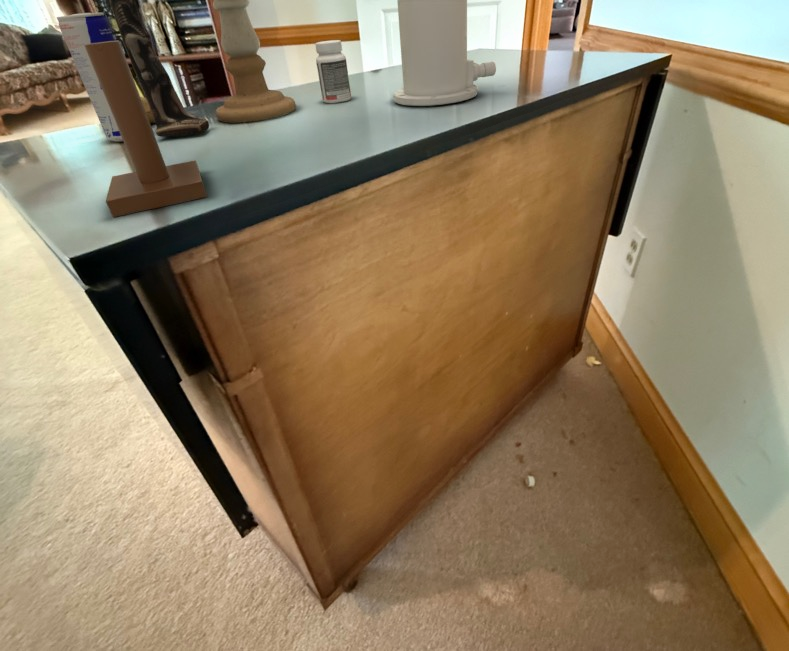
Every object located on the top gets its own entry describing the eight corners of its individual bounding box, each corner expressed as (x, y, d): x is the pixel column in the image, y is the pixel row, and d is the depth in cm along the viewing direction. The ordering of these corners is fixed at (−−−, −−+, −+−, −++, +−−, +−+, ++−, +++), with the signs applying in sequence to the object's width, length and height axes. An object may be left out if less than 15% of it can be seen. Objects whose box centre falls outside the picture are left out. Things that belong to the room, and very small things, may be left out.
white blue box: (133, 142, 64) (81, 12, 56) (99, 143, 66) (43, 17, 57) (157, 132, 69) (113, 10, 60) (125, 133, 70) (77, 14, 61)
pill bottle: (357, 98, 77) (349, 39, 72) (334, 104, 74) (325, 43, 69) (339, 96, 80) (331, 39, 75) (317, 102, 77) (307, 43, 72)
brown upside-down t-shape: (200, 174, 49) (154, 34, 41) (207, 197, 43) (154, 37, 35) (118, 191, 47) (54, 46, 39) (113, 217, 40) (35, 52, 33)
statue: (204, 136, 64) (146, -51, 52) (152, 142, 63) (82, -44, 52) (211, 129, 67) (158, -48, 55) (162, 134, 67) (98, -42, 55)
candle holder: (243, 106, 80) (205, -43, 68) (309, 104, 76) (280, -54, 65) (201, 124, 70) (149, -45, 59) (273, 122, 67) (233, -58, 55)
